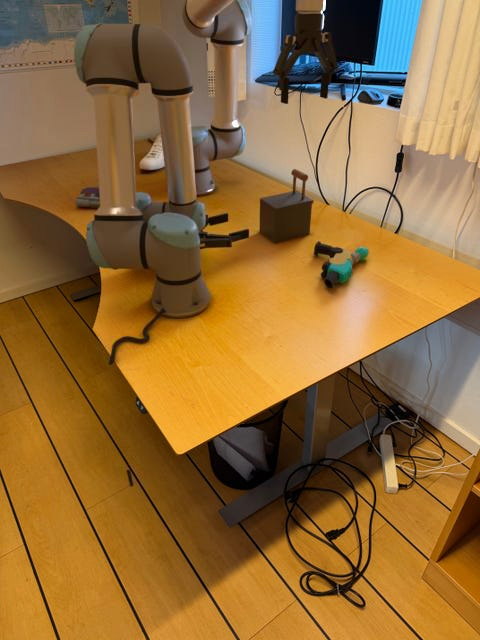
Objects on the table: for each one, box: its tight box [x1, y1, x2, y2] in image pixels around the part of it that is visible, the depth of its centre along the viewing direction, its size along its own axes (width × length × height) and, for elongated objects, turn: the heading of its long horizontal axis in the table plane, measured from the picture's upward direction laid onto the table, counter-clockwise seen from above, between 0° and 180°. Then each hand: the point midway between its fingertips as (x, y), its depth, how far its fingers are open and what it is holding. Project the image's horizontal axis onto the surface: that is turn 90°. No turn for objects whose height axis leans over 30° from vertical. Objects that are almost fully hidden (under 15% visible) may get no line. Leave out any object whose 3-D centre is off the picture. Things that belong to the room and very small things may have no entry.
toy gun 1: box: [74, 186, 100, 209], centre depth 180 cm, size 4×19×15 cm
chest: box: [259, 201, 313, 244], centre depth 155 cm, size 14×10×11 cm
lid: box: [259, 168, 315, 212], centre depth 150 cm, size 14×10×9 cm
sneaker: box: [139, 134, 165, 171], centre depth 214 cm, size 10×29×12 cm, turn 163°
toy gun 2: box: [313, 240, 370, 290], centre depth 137 cm, size 4×26×15 cm
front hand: (237, 225), depth 148 cm, fingers open, 13 cm apart
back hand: (304, 100), depth 136 cm, fingers open, 13 cm apart
